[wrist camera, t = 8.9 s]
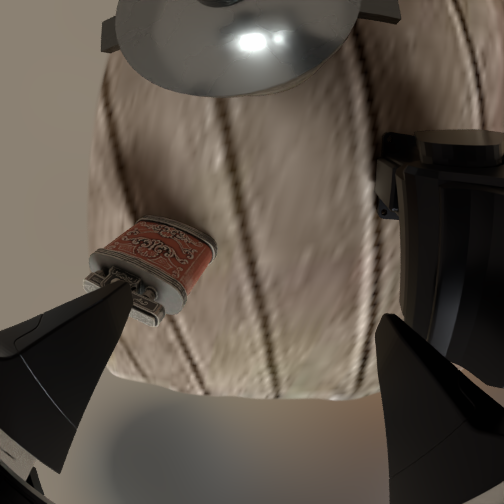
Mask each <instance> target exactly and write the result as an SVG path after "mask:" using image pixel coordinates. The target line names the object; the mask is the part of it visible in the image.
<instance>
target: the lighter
mask: <svg viewBox="0 0 504 504" xmlns="http://www.w3.org/2000/svg"><path fill="white" fill-rule="evenodd" d="M217 251H218V248H217V244H216V242H215V241H214V240H213V239H212V238H211V237H209V236H207V235H206V234H204V233H202V232H200V231H198V230H197V229H195V228H193V227H190V226H188V225H186V224H183V223H181V222H178V221H175V220H171V219H168V218H164V217H158V216H151V215H145V216H144V217H142V218H141V219H139V220H138V221H137V222H136V224H135V225H134V226H133V227H131V228H130V229H129V230H127V231H126V232H124V233H123V234H122V235H120V236H119V237H118V238H116V239H115V240H114V241H112V242H111V243H110V244H108V245H107V246H106V247H104V248H99V249H98V250H97V251H95V252H94V253H93V254H91V255H90V258H89V266H90V269H91V272H92V273H91V274H90V275H89V276H87V277H86V278H85V279H84V280H83V287H84V289H85V291H86V292H87V293H90V292H92V291H94V290H96V289H99V288H101V287H103V286H106V285H108V284H110V283H113V282H115V281H117V280H123V281H128V282H129V283H130V286H131V291H132V296H133V307H132V309H131V312H130V314H129V316H130V317H132V318H134V319H136V320H138V321H140V322H142V323H144V324H146V325H148V326H151V327H157V326H158V325H159V324H160V322H161V321H162V319H163V318H164V316H165V313H166V314H172V315H174V314H178V313H179V312H180V311H181V310H182V309H183V307H184V305H185V304H186V301H187V296H188V294H189V293H190V291H191V290H192V288H193V287H194V285H195V284H196V282H197V281H198V279H199V278H200V276H201V275H202V273H203V272H204V270H205V269H206V267H207V266H208V265H210V264H211V263H212V262H213V260H214V259H215V257H216V255H217Z"/></svg>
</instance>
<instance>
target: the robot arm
mask: <svg viewBox="0 0 504 504" xmlns="http://www.w3.org/2000/svg"><path fill="white" fill-rule="evenodd" d="M414 133H415V136H412V135H405V134H399V133H392V132H386V133H384V134H383V136H382V154H381V157H379V158H378V159H377V170H376V184H375V193H376V194H377V195H378V205H377V213H378V215H379V217H381V218H383V219H394V220H399V221H400V247H401V273H400V300H399V302H400V306H401V310H402V313H403V316H404V321H403V320H401V319H400V318H399V317H398V316H397V315H395V314H389V313H385V314H384V315H383V316H382V318H381V320H380V323H379V325H378V327H377V329H376V332H375V343H376V355H377V370H378V378H379V384H380V391H381V397H382V404H383V411H384V419H385V428H386V437H387V448H388V462H389V478H390V479H389V492H390V504H504V407H502V406H501V405H500V404H499V403H497V402H496V401H495V400H494V399H493V398H491V397H490V396H489V395H488V394H486V393H485V392H484V391H483V390H481V389H480V388H479V387H478V386H476V385H475V384H474V383H473V382H472V381H471V380H470V379H468V378H467V377H466V376H465V375H464V374H463V373H462V372H461V371H460V370H458V368H456V367H455V366H454V365H453V364H452V363H455V364H457V365H460V366H461V367H463V368H465V369H466V370H468V371H469V372H470V373H472V374H473V375H474V376H476V377H477V378H479V379H480V380H481V381H482V382H484V383H485V384H486V385H489V386H493V387H498V388H504V133H501V132H494V131H487V130H475V129H467V130H433V131H417V132H414ZM388 136H391V138H392V140H391V142H388V141H387V137H388ZM383 209H386V212H385V213H384V214H382V213H381V211H382V210H383ZM132 307H133V296H132V291H131V286H130V283H129V282H128V281H123V280H117V281H115V282H113V283H110V284H108V285H106V286H103V287H101V288H99V289H96V290H94V291H92V292H90V293H87V294H85V295H83V296H81V297H78V298H76V299H74V300H72V301H69V302H67V303H65V304H63V305H60V306H58V307H56V308H54V309H51V310H49V311H47V312H45V313H44V314H40V315H38V316H36V317H34V318H32V319H29V320H27V321H24V322H22V323H19V324H17V325H14V326H12V327H9V328H7V329H4V330H1V331H0V504H55V503H53V502H52V501H51V500H49V499H48V498H46V497H45V496H44V493H43V490H42V487H41V484H40V481H39V478H38V474H37V471H36V468H35V467H33V465H34V463H35V461H36V459H38V460H39V461H40V462H42V463H43V464H45V465H46V466H48V467H49V468H51V469H52V470H54V471H55V472H57V473H58V474H60V473H61V470H62V468H63V465H64V462H65V459H66V456H67V454H68V451H69V448H70V446H71V443H72V441H73V438H74V436H75V433H76V431H77V428H78V426H79V423H80V421H81V418H82V416H83V413H84V411H85V409H86V407H87V405H88V402H89V400H90V398H91V396H92V394H93V391H94V389H95V387H96V385H97V383H98V381H99V379H100V376H101V374H102V372H103V370H104V368H105V366H106V364H107V362H108V360H109V358H110V356H111V354H112V352H113V350H114V348H115V346H116V345H117V343H118V340H119V338H120V336H121V334H122V331H123V329H124V326H125V324H126V321H127V319H128V316H129V314H130V312H131V309H132ZM451 362H452V363H451Z"/></svg>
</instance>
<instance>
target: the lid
mask: <svg viewBox="0 0 504 504" xmlns="http://www.w3.org/2000/svg"><path fill="white" fill-rule="evenodd" d="M360 7H361V0H119V2H118V6H117V11H116V18H115V30H116V36H117V41H118V44H119V47H120V49H121V51H122V53H123V55H124V57H125V59H126V60H127V62H128V63H129V64H130V65H131V66H132V68H133V69H134V70H135V71H137V72H138V73H139V74H140V75H141V76H142V77H144V78H145V79H147V80H148V81H150V82H152V83H153V84H156V85H158V86H160V87H162V88H164V89H168V90H171V91H174V92H178V93H183V94H189V95H195V96H201V97H213V98H226V97H240V96H247V95H253V94H258V93H262V92H266V91H270V90H273V89H276V88H279V87H282V86H285V85H287V84H289V83H291V82H293V81H296V80H298V79H300V78H302V77H304V76H305V75H307V74H309V73H310V72H312V71H314V70H316V69H317V68H318V67H319V66H321V65H322V64H323V63H325V62H326V61H327V60H329V59H330V58H331V57H332V56H333V55H334V54H335V53H336V52H337V51H338V50H339V48H340V47H341V46H342V44H343V43H344V42H345V40H346V39H347V38H348V36H349V34H350V32H351V30H352V28H353V26H354V24H355V22H356V20H357V17H358V13H359V10H360Z"/></svg>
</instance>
